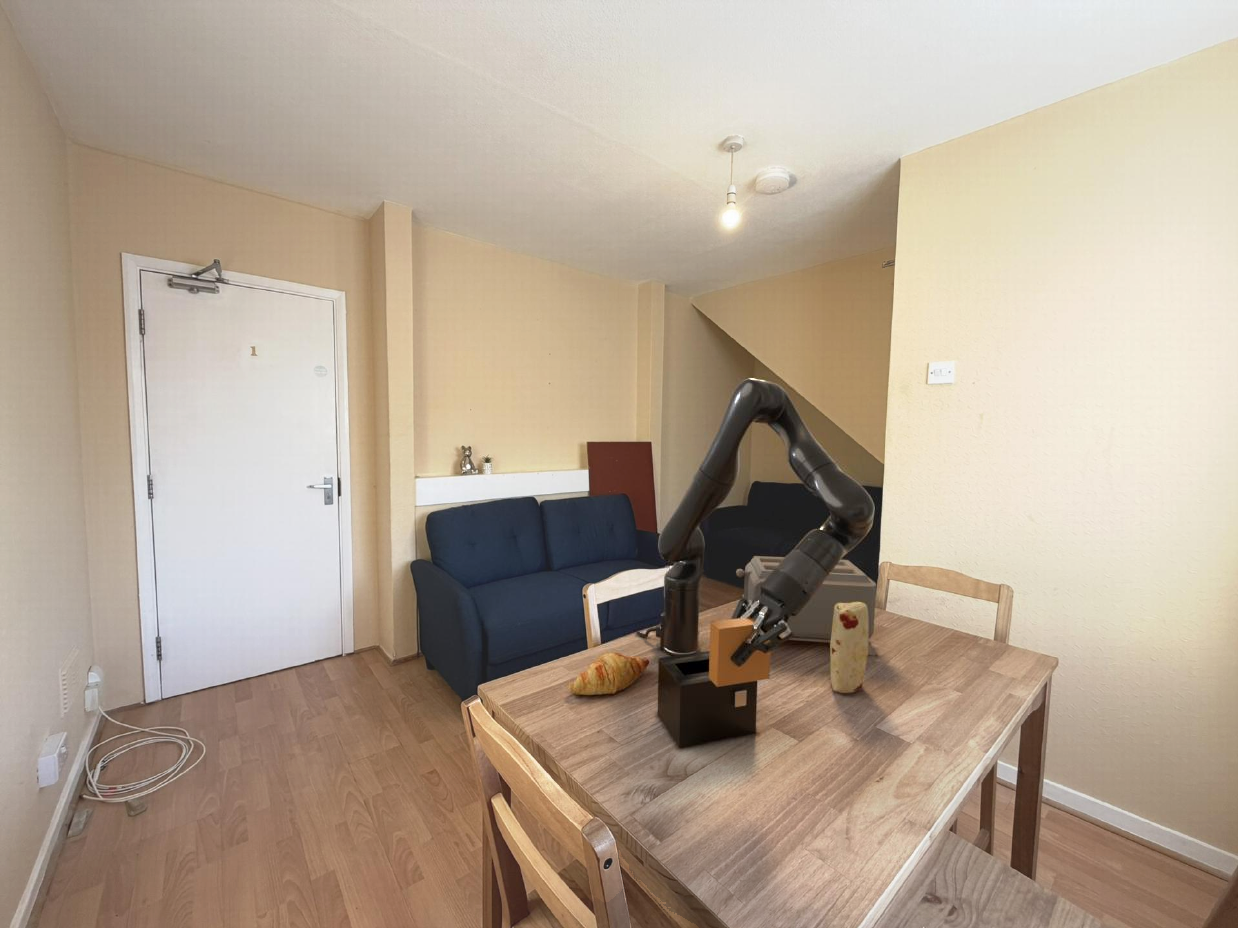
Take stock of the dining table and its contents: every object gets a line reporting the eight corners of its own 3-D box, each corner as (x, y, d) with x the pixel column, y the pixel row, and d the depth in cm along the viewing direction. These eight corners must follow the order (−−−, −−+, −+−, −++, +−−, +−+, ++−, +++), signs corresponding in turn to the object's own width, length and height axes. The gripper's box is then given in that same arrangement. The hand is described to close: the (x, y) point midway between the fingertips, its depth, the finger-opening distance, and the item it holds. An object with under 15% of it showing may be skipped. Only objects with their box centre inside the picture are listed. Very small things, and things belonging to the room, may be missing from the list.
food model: (846, 701, 104) (851, 611, 103) (820, 687, 110) (823, 601, 108) (873, 689, 109) (878, 603, 108) (846, 676, 115) (850, 594, 113)
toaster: (731, 618, 149) (733, 553, 148) (851, 625, 145) (854, 558, 143) (737, 646, 130) (740, 571, 129) (876, 655, 125) (880, 578, 124)
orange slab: (708, 677, 83) (710, 621, 82) (759, 670, 86) (761, 615, 85) (717, 687, 80) (718, 628, 80) (769, 678, 83) (771, 622, 82)
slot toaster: (657, 714, 99) (658, 657, 98) (727, 701, 104) (728, 647, 103) (681, 751, 88) (682, 687, 87) (758, 735, 93) (760, 675, 92)
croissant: (576, 718, 103) (584, 695, 99) (556, 679, 110) (563, 656, 106) (654, 686, 115) (664, 664, 111) (631, 653, 122) (640, 631, 118)
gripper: (758, 557, 91) (697, 627, 88) (807, 581, 77) (737, 664, 75) (781, 582, 93) (722, 652, 90) (833, 610, 79) (765, 692, 77)
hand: (729, 657), depth 82 cm, fingers closed on orange slab, 3 cm apart
